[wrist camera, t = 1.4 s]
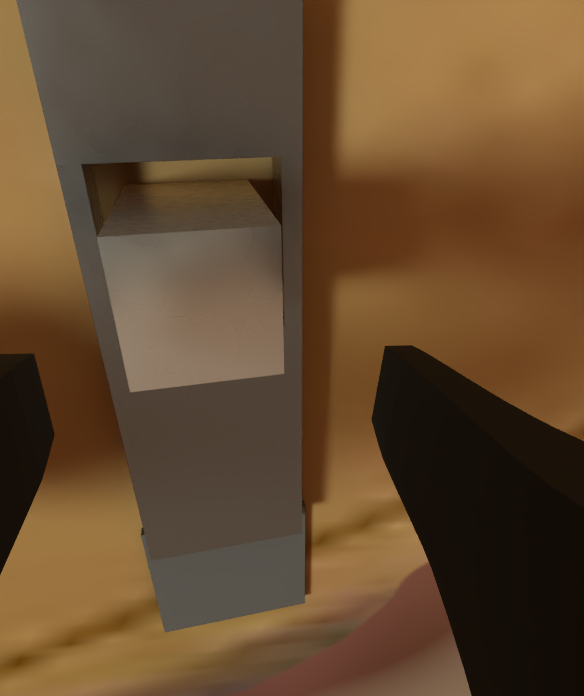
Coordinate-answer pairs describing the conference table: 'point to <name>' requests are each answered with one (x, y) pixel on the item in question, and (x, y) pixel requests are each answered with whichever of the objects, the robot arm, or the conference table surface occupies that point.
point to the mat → (229, 580)
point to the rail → (172, 145)
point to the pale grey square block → (194, 283)
